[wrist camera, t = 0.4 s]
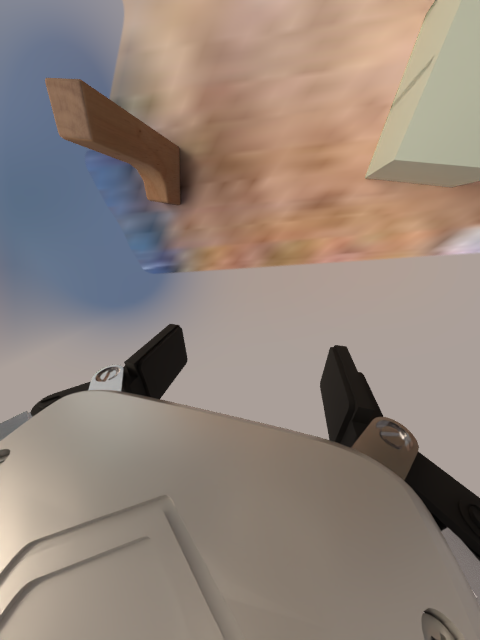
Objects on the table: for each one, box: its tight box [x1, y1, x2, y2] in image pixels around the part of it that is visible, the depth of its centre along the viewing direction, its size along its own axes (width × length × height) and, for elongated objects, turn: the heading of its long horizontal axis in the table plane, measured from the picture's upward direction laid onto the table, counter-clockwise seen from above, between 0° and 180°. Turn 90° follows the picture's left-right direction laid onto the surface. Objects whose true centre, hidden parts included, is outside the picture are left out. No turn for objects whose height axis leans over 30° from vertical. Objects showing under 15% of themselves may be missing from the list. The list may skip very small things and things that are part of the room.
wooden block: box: [45, 78, 180, 205], centre depth 27 cm, size 9×4×18 cm, turn 172°
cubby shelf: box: [365, 0, 480, 187], centre depth 20 cm, size 15×12×10 cm
